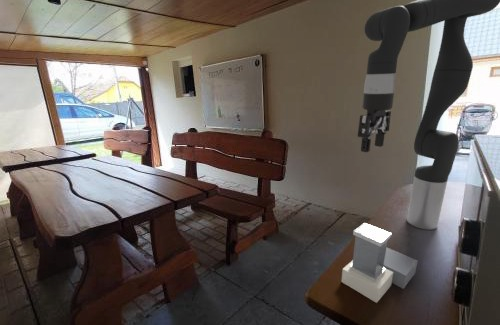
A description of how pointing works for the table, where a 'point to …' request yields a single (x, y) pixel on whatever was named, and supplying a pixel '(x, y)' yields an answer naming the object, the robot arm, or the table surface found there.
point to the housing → (369, 251)
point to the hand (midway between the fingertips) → (372, 148)
